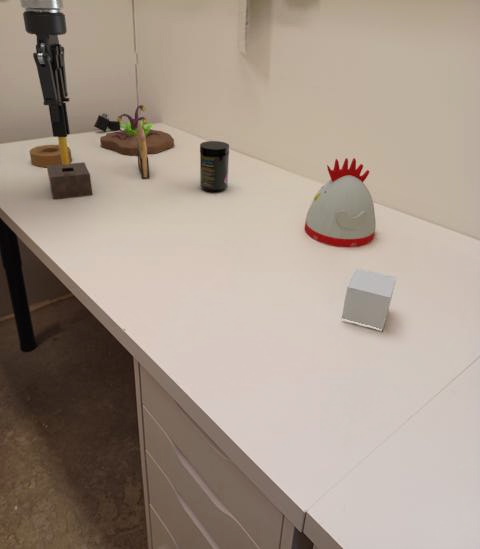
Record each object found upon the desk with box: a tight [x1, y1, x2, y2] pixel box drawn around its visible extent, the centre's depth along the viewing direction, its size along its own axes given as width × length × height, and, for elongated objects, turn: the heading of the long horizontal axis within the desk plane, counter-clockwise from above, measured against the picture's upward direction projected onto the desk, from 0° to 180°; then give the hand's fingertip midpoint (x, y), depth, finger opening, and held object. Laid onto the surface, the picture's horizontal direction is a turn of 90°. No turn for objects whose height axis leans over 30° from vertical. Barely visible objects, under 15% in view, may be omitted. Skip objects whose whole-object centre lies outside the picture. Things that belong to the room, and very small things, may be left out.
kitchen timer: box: [304, 157, 377, 248], centre depth 92 cm, size 14×14×15 cm
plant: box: [99, 104, 175, 157], centre depth 139 cm, size 20×20×11 cm
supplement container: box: [199, 140, 230, 193], centre depth 111 cm, size 7×7×10 cm
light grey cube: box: [341, 267, 397, 330], centre depth 70 cm, size 6×6×6 cm
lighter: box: [93, 112, 121, 133], centre depth 153 cm, size 8×2×5 cm
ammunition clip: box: [137, 120, 150, 180], centre depth 119 cm, size 11×2×12 cm, turn 15°
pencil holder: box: [46, 162, 93, 200], centre depth 108 cm, size 8×8×5 cm
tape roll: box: [29, 144, 73, 168], centre depth 126 cm, size 10×10×3 cm
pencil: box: [57, 99, 71, 165], centre depth 102 cm, size 2×2×15 cm
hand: (61, 134), depth 102 cm, fingers closed on pencil, 1 cm apart
